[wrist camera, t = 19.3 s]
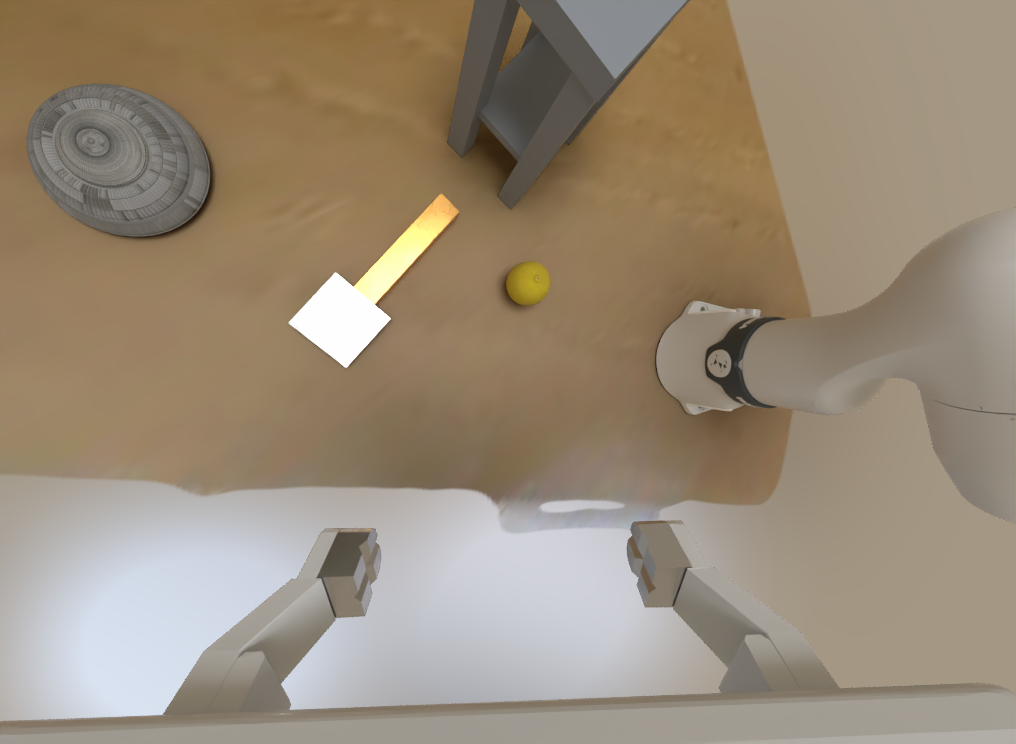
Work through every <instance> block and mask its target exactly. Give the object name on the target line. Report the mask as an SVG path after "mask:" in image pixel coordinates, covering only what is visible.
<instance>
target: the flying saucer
mask: <svg viewBox="0 0 1016 744" xmlns="http://www.w3.org/2000/svg"><path fill="white" fill-rule="evenodd" d="M27 153H28V158H29V161H30V165H31V167H32V170H33V172H34V174H35V176H36V178H37V180H38V182H39V183H40V185H41V186H42V188H43V189H44V191H45V192H46V193H47V194H48V196H49V197H50V198H51V199H52V200H53V201H54V202H55V203H56V204H57V205H58V206H59V207H60V208H61V209H63V210H64V211H65V212H67V213H68V214H69V215H71V216H72V217H74V218H75V219H77V220H79V221H81V222H82V223H84V224H86V225H88V226H91V227H93V228H96V229H98V230H101V231H104V232H108V233H112V234H116V235H122V236H134V237H136V236H152V235H157V234H161V233H165V232H168V231H170V230H173V229H175V228H177V227H179V226H181V225H182V224H184V223H185V222H187V221H188V220H189V219H190V218H192V217H193V216H194V215H195V214H196V212H197V211H198V210H199V209H200V207H201V206H202V204H203V202H204V200H205V198H206V196H207V193H208V189H209V184H210V167H209V161H208V157H207V154H206V151H205V149H204V146H203V144H202V142H201V140H200V139H199V137H198V135H197V134H196V132H195V131H194V130H193V128H192V127H191V126H190V125H189V124H188V122H187V121H186V120H185V119H184V118H183V117H182V116H181V115H180V114H178V113H177V112H176V111H175V110H174V109H172V108H171V107H169V106H168V105H167V104H165V103H163V102H162V101H160V100H158V99H157V98H155V97H153V96H151V95H148V94H146V93H144V92H141V91H138V90H135V89H132V88H128V87H123V86H118V85H112V84H85V85H79V86H75V87H71V88H68V89H65V90H63V91H60V92H58V93H56V94H54V95H53V96H51V97H50V98H48V99H47V100H46V101H45V102H44V103H43V104H42V105H41V106H40V107H39V108H38V109H37V111H36V112H35V114H34V115H33V117H32V119H31V122H30V124H29V128H28V132H27Z"/></svg>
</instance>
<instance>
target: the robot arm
mask: <svg viewBox="0 0 1016 744" xmlns="http://www.w3.org/2000/svg"><path fill="white" fill-rule="evenodd" d="M700 309H701V310H700ZM760 313H761V311H760V310H758V309H742V308H736V309H735V310H734V309H729V308H725V307H721V306H717V305H713V304H709V303H705V302H701V301H691V302H690V303H689V304H688V305H687V307H686V308H685V310H684V312H683V314H682V315H681V316H680V317H679V318H678V319H677V320H676V321H674V322H673V323H672V324H671V325H670V326H669V327H668V328H667V330H666V331H665V332H664V334H663V336H662V338H661V340H660V343H659V346H658V350H657V357H656V365H657V372H658V376H659V378H660V381H661V383H662V385H663V386H664V388H665V389H666V390H667V391H668V392H669V393H670V394H671V395H672V396H673V397H675V398H676V399H677V400H679V401H680V403H681V405H682V406H683V408H684V410H685V411H686V412H687V413H688V414H692V415H696V414H700V413H703V412H706V411H709V410H712V409H716V410H722V411H732V410H733V409H735V408H739V407H741V406H743V405H748V406H752V407H758V408H762V407H763V408H775V407H782V408H788V409H793V410H799V411H805V412H810V413H817V414H822V415H840V414H845V413H850V412H853V411H856V410H858V409H860V408H862V407H864V406H866V405H867V404H868V403H870V402H871V401H872V400H873V399H874V398H875V397H876V396H877V395H878V394H879V393H880V391H881V390H882V389H883V387H884V386H885V384H886V382H887V380H888V379H889V377H891V378H902V379H906V380H909V381H912V382H914V383H916V384H917V387H918V389H919V390H920V393H921V398H922V402H923V407H924V410H925V415H926V419H927V424H928V428H929V432H930V436H931V441H932V445H933V449H934V451H935V453H936V455H937V457H938V458H939V460H940V462H941V463H942V465H943V467H944V469H945V471H946V472H947V474H948V475H949V477H950V479H951V480H952V482H953V483H954V485H955V486H956V488H957V490H958V491H959V492H960V494H961V495H962V496H963V497H964V498H965V499H966V500H967V501H968V502H970V503H971V504H972V505H974V506H976V507H977V508H979V509H981V510H983V511H984V512H987V513H989V514H991V515H993V516H995V517H998V518H1000V519H1003V520H1006V521H1009V522H1012V523H1015V524H1016V207H1015V208H1010V209H1006V210H1002V211H998V212H994V213H991V214H988V215H985V216H982V217H979V218H976V219H974V220H971V221H969V222H966V223H964V224H962V225H960V226H958V227H956V228H953V229H951V230H950V231H948V232H946V233H944V234H943V235H941V236H939V237H938V238H936V239H934V240H933V241H932V242H930V243H929V244H928V245H926V246H925V247H924V248H922V249H921V250H920V251H919V252H918V253H917V254H916V255H915V256H914V257H913V258H912V259H911V260H910V261H909V262H908V263H907V264H906V266H905V267H904V269H903V270H902V272H901V273H900V275H899V276H898V277H897V278H896V279H895V281H894V282H893V283H892V284H891V285H890V286H889V287H888V288H887V289H886V290H885V291H884V292H882V293H881V294H879V295H878V296H877V297H875V298H874V299H872V300H871V301H869V302H867V303H865V304H864V305H862V306H860V307H857V308H855V309H852V310H849V311H846V312H842V313H838V314H833V315H825V316H818V317H809V318H798V319H784V318H781V317H770V316H769V317H767V316H765V317H760ZM630 530H631V533H632V535H633V536H632V537H631V538H629V540H628V543H627V556H628V561H629V565H630V567H631V570H632V572H633V573H634V574H635V575H637V577H639V579H638V583H637V587H638V589H639V592H640V595H641V598H642V600H643V603H644V606H645V607H673V609H674V610H675V612H676V613H678V615H679V616H680V617H681V618H682V619H683V620H684V621H685V622H686V623H687V624H688V625H689V627H690V628H691V629H692V630H693V631H694V632H695V633H696V634H697V635H698V636H699V637H700V638H701V639H702V640H703V641H704V643H705V644H706V645H707V646H708V647H709V648H710V649H711V650H712V651H713V652H714V653H715V654H716V655H717V656H718V658H719V659H720V660H721V661H722V662H723V663H724V664H725V665H726V666H727V667H728V670H727V672H726V674H725V676H724V678H723V680H722V682H721V684H720V686H719V689H720V692H721V693H714V694H687V695H661V696H635V697H611V698H585V699H559V700H532V701H509V702H507V701H506V702H481V703H455V704H431V705H406V706H382V707H381V706H379V707H355V708H329V709H304V710H289V709H290V706H291V703H290V700H289V698H288V696H287V695H286V693H285V691H284V689H283V687H282V686H281V683H282V682H283V681H284V679H285V678H286V677H287V676H288V675H289V674H290V672H291V671H292V670H293V669H294V668H295V667H296V665H297V664H298V663H299V662H300V661H301V660H302V658H303V657H304V656H305V655H306V654H307V653H308V651H309V650H310V649H311V648H312V647H313V646H314V644H315V643H316V642H317V641H318V640H319V638H320V637H321V636H322V635H323V634H324V633H325V632H326V630H327V629H328V628H329V627H330V626H331V625H332V623H333V622H334V621H335V618H341V617H358V616H365V615H366V612H367V608H368V605H369V602H370V599H371V596H372V590H371V586H370V585H371V584H372V583H373V582H374V581H375V580H376V579H377V576H378V572H379V569H380V562H381V550H380V546H379V545H378V544H377V543H376V539H377V533H376V529H374V528H332V529H331V528H328V529H324V530H323V531H322V532H321V533H320V535H319V537H318V539H317V541H316V543H315V545H314V547H313V548H312V550H311V552H310V554H309V556H308V558H307V560H306V562H305V564H304V566H303V568H302V570H301V572H300V573H299V575H298V577H297V579H291V580H290V581H289V582H287V583H286V584H285V585H284V586H283V587H281V588H280V589H279V590H278V591H276V592H275V593H274V594H273V595H272V596H270V597H269V598H268V599H267V600H266V601H264V602H263V603H262V604H261V605H259V606H258V607H257V608H256V609H255V610H253V611H252V612H251V613H250V614H248V615H247V616H246V617H245V618H244V619H242V620H241V621H240V622H239V623H238V624H236V625H235V626H234V627H233V628H231V629H230V630H229V631H228V632H227V633H225V634H224V635H223V636H222V637H220V638H219V639H218V640H217V641H216V642H215V643H213V644H212V645H211V646H210V647H208V648H207V649H206V650H205V651H204V652H203V653H202V655H201V656H200V658H199V659H198V661H197V662H196V664H195V666H194V667H193V669H192V670H191V672H190V673H189V675H188V676H187V678H186V679H185V681H184V683H183V684H182V686H181V687H180V689H179V690H178V692H177V693H176V695H175V697H174V698H173V700H172V701H171V703H170V704H169V706H168V707H167V709H166V711H165V712H164V714H163V715H154V716H153V715H152V716H130V717H129V716H127V717H102V718H76V719H49V720H19V721H0V744H1016V694H1015V693H1014V692H1012V691H1010V690H1008V689H1005V688H1003V687H1000V686H997V685H993V684H985V683H964V684H940V685H915V686H889V687H864V688H839V687H838V685H837V684H836V682H835V681H834V679H833V678H832V677H831V675H830V674H829V672H828V671H827V670H826V668H825V667H824V665H823V664H822V662H821V661H820V660H819V658H818V657H817V655H816V654H815V652H814V651H813V649H812V648H811V647H810V645H809V644H808V642H807V641H806V640H805V638H804V637H803V635H802V634H801V632H800V631H798V630H797V629H796V628H794V627H793V626H792V625H790V624H789V623H788V622H786V621H785V620H784V619H782V618H781V617H780V616H779V615H777V614H776V613H775V612H773V611H772V610H771V609H769V608H768V607H767V606H765V605H764V604H762V603H761V602H760V601H759V600H757V599H756V598H755V597H753V596H752V595H751V594H749V593H748V592H747V591H745V590H744V589H743V588H741V587H740V586H739V585H737V584H736V583H735V582H734V581H732V580H731V579H730V578H728V577H727V576H725V575H724V574H723V573H721V572H720V571H719V570H718V569H716V568H715V567H710V566H709V565H708V563H707V561H706V560H705V558H704V556H703V555H702V553H701V551H700V550H699V548H698V546H697V545H696V543H695V541H694V539H693V538H692V536H691V534H690V533H689V531H688V529H687V527H686V526H685V524H684V523H683V522H682V521H639V522H633V523H632V525H631V529H630Z"/></svg>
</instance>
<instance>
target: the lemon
mask: <svg viewBox="0 0 1016 744" xmlns="http://www.w3.org/2000/svg"><path fill="white" fill-rule="evenodd" d="M550 284H551V281H550V275H549V273H548V271H547V270H546V268H545V267H544V266H542V265H541V264H539V263H536V262H529V261H528V262H523V263H520V264H518V265H517V266H515V267H514V268H513V269H512V270H511V271H510V273H509V275H508V277H507V281H506V288H507V292H508V294H509V296H510V297H511V299H512V300H514V301H515V302H516V303H518V304H521V305H534V304H536V303H538V302H540V301H541V300H542V299H544V297H545V296H546V295H547V293H548V291H549V289H550Z"/></svg>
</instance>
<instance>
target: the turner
mask: <svg viewBox="0 0 1016 744" xmlns="http://www.w3.org/2000/svg"><path fill="white" fill-rule="evenodd" d="M458 214H459V210H458V209H457V208H456V207H455V206H454V205H453V204H452V203H451V202H450V201H449V200H448V199H446V198H445V197H444V196H443V195H442V194H440V195H439V196H438V197H437V198H436V199H435V200H434V201H433V203H432V204H431V205H430V206H429V207H428V208H427V209H426V210H425V211H424V212H423V213H422V214H421V215H420V216H419V218H418V219H417V220H416V221H415V222H414V223H413V224H412V225H411V226H410V227H409V228H408V229H407V230H406V232H405V233H404V234H403V235H402V236H401V237H400V238H399V239H398V240H397V241H396V242H395V243H394V244H393V245H392V247H391V248H390V249H389V250H388V251H387V252H386V253H385V254H384V255H383V256H382V257H381V258H380V259H379V260H378V262H377V263H376V264H375V265H374V266H373V267H372V268H371V269H370V270H369V271H368V272H367V273H366V274H365V275H364V277H363V278H362V279H361V280H360V281H359V282H358V283H357V284H356V285H355V286H354V287H353V286H351V285H350V284H349V283H348V282H347V281H345V280H344V279H343V278H342V277H341V276H340V275H338V274H337V273H335V274H334V275H333V276H332V277H331V278H330V279H329V280H328V281H327V282H326V283H325V284H324V286H323V287H322V288H321V289H320V290H319V291H318V292H317V293H316V294H315V295H314V296H313V297H312V298H311V299H310V300H309V301H308V302H307V304H306V305H305V306H304V307H303V308H302V309H301V310H300V311H299V312H298V313H297V314H296V315H295V316H294V317H293V318H292V319H291V320H290V321H289V324H290V325H291V326H293V327H294V328H295V329H297V330H298V331H299V332H300V333H302V334H303V335H304V336H306V337H307V338H308V339H310V340H311V341H312V342H314V343H315V344H316V345H317V346H319V347H320V348H321V349H323V350H324V351H325V352H327V353H328V354H329V355H330V356H332V357H333V358H334V359H336V360H337V361H338V362H340V363H341V364H342V365H343V366H345V367H348V366H349V365H350V364H351V363H352V362H353V361H354V359H355V358H356V357H357V356H358V355H359V354H360V353H361V352H362V351H363V349H364V348H365V347H366V346H367V345H368V344H369V343H370V342H371V341H372V340H373V338H374V337H375V336H376V335H377V334H378V333H379V332H380V331H381V330H382V328H383V327H384V326H385V325H386V324H387V323H388V322H389V321H390V320H391V318H389V317H388V316H387V315H386V314H385V313H383V312H382V311H381V310H380V309H379V308H378V307H376V305H377V304H378V303H379V302H380V301H381V300H382V299H383V298H384V297H385V296H386V295H387V293H388V292H389V291H390V290H391V289H392V288H393V287H394V286H395V285H396V284H397V283H398V281H399V280H400V279H401V278H402V277H403V276H404V275H405V274H406V273H407V272H408V271H409V269H410V268H411V267H412V266H413V265H414V264H415V263H416V262H417V261H418V260H419V259H420V257H421V256H422V255H423V254H424V253H425V252H426V251H427V250H428V249H429V248H430V247H431V245H432V244H433V243H434V242H435V241H436V240H437V239H438V238H439V237H440V236H441V234H442V233H443V232H444V231H445V230H446V229H447V228H448V227H449V226H450V225H451V224H452V222H453V221H454V220H455V219H456V218H457V216H458Z"/></svg>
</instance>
